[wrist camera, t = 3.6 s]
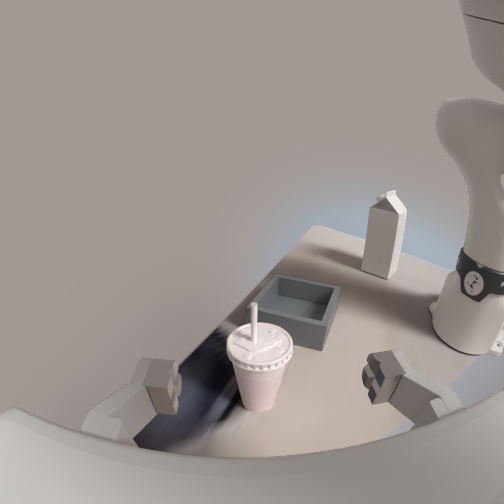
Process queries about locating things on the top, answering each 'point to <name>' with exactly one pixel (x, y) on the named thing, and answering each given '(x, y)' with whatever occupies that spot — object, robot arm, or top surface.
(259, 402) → the smoothie
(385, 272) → the milk carton
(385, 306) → the top surface
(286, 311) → the bin
